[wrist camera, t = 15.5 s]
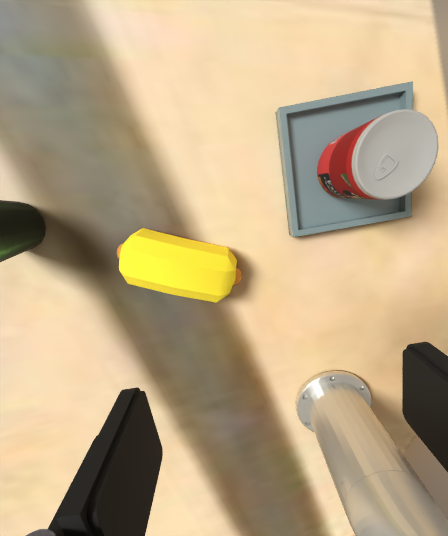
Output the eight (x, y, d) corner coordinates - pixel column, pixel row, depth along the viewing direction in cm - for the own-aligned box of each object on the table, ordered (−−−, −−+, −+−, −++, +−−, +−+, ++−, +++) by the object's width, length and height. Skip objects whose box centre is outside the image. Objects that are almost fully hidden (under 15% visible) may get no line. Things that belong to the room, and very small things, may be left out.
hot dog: (125, 222, 38) (118, 272, 40) (105, 227, 32) (98, 287, 34) (247, 250, 39) (234, 297, 41) (252, 261, 33) (237, 317, 35)
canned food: (305, 187, 36) (340, 184, 25) (330, 125, 34) (380, 94, 23) (356, 206, 37) (411, 211, 26) (384, 146, 35) (456, 125, 24)
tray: (401, 215, 38) (411, 216, 36) (289, 235, 38) (293, 237, 37) (401, 87, 34) (412, 81, 32) (275, 112, 34) (279, 107, 32)
